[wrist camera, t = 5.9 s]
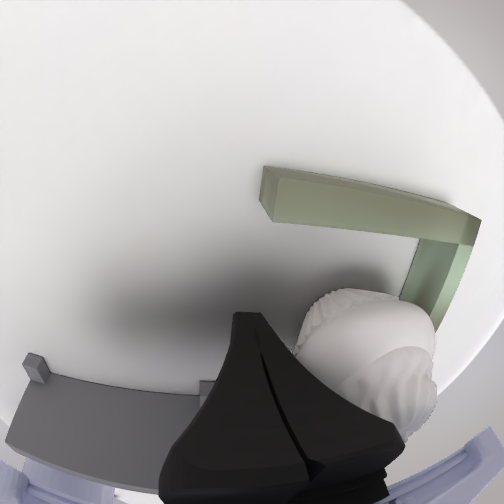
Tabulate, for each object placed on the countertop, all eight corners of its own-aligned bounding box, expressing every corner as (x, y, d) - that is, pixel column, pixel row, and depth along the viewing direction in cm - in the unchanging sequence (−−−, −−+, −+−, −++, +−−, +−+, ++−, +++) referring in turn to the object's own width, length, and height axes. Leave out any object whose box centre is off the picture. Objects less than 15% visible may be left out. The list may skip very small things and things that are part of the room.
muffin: (332, 230, 10) (453, 357, 4) (410, 291, 12) (494, 384, 6) (244, 340, 12) (270, 487, 6) (334, 372, 14) (379, 476, 8)
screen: (219, 418, 15) (227, 503, 9) (50, 393, 13) (26, 461, 7) (222, 381, 13) (232, 486, 8) (28, 353, 11) (-9, 428, 6)
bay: (368, 386, 15) (382, 413, 13) (232, 399, 14) (235, 434, 12) (446, 202, 10) (481, 220, 8) (263, 166, 9) (279, 177, 7)
